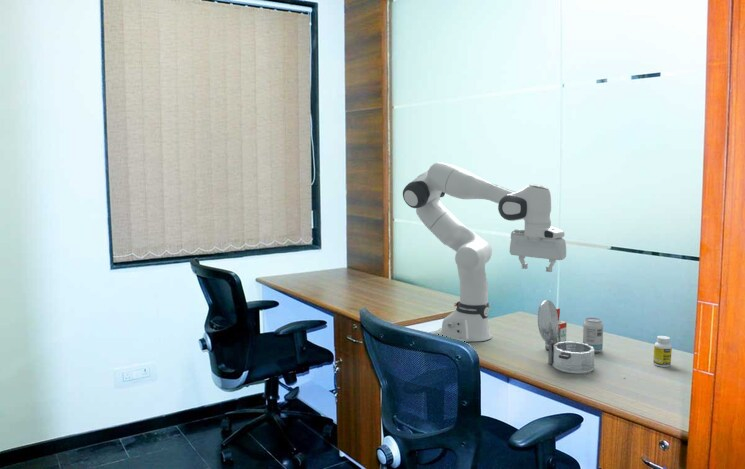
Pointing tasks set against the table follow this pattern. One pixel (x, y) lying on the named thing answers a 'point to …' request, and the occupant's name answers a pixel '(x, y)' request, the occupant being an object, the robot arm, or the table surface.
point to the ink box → (559, 331)
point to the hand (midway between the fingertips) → (536, 270)
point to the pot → (571, 357)
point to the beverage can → (593, 333)
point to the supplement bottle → (662, 352)
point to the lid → (548, 321)
